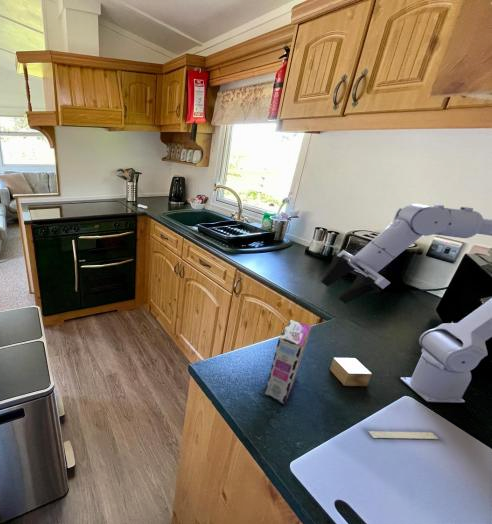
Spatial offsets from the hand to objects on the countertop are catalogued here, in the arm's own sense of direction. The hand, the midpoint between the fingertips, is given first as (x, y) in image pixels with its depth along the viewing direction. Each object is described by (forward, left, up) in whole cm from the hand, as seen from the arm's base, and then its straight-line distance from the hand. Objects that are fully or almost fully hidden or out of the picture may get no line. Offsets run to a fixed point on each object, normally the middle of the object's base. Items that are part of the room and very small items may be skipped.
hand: (332, 292), depth 70 cm
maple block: (-9, +2, -24) cm, 26 cm away
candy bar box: (+11, +6, -24) cm, 27 cm away
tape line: (-9, +19, -24) cm, 32 cm away
